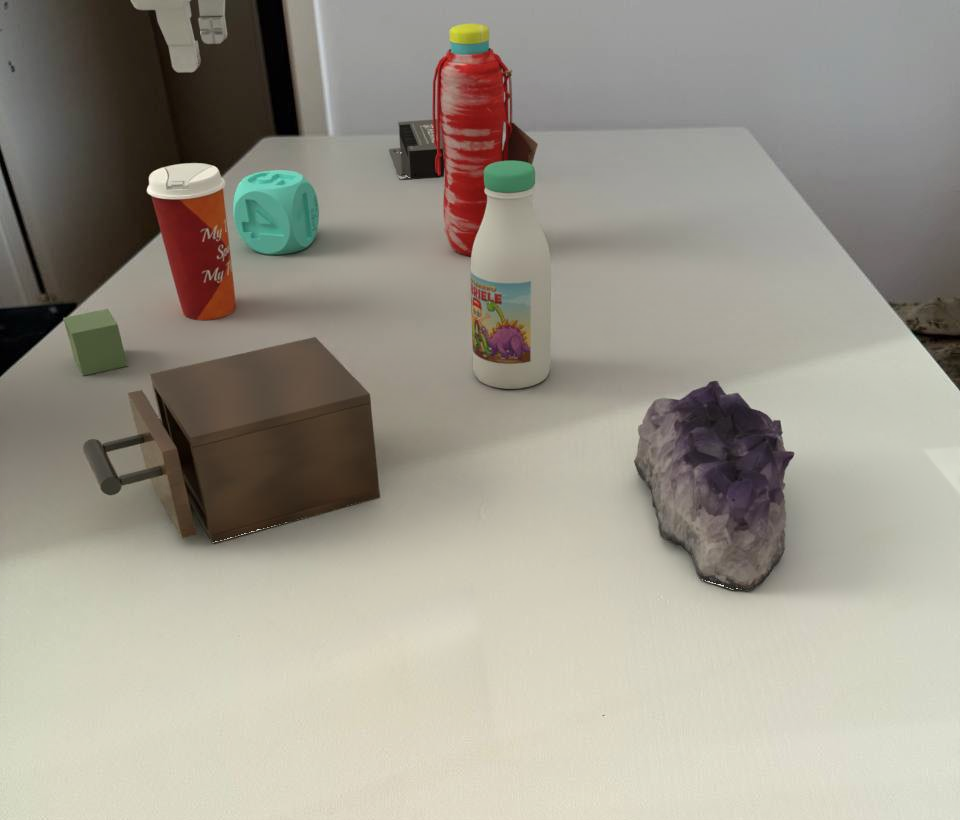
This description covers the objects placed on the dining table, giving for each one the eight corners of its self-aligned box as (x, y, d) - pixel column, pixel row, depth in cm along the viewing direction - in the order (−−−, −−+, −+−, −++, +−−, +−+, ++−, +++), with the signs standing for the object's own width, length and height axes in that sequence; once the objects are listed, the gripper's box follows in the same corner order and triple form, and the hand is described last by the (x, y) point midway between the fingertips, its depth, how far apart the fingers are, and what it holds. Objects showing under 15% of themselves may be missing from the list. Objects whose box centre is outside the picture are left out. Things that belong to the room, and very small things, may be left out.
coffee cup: (238, 323, 126) (214, 183, 116) (165, 325, 126) (135, 186, 116) (251, 294, 132) (230, 159, 123) (181, 295, 132) (154, 161, 123)
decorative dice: (295, 257, 141) (286, 191, 136) (238, 252, 143) (227, 187, 138) (322, 236, 147) (315, 172, 142) (267, 231, 149) (258, 167, 144)
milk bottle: (511, 350, 118) (508, 148, 105) (566, 372, 114) (570, 164, 101) (457, 375, 114) (448, 168, 101) (512, 398, 109) (510, 185, 97)
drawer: (121, 555, 89) (97, 468, 84) (91, 489, 97) (68, 406, 92) (340, 495, 95) (329, 410, 90) (295, 437, 103) (283, 357, 98)
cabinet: (212, 544, 91) (190, 438, 85) (172, 474, 100) (149, 373, 94) (380, 497, 96) (370, 393, 90) (327, 434, 105) (315, 336, 99)
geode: (837, 586, 84) (844, 474, 78) (683, 615, 85) (677, 506, 78) (759, 444, 100) (759, 340, 93) (629, 468, 100) (620, 367, 93)
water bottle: (531, 234, 145) (531, 14, 129) (539, 256, 139) (540, 28, 123) (437, 239, 144) (426, 19, 129) (441, 262, 138) (429, 34, 123)
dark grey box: (389, 149, 177) (379, 26, 166) (477, 142, 178) (473, 20, 167) (401, 188, 161) (391, 55, 150) (498, 180, 163) (495, 48, 152)
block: (83, 376, 116) (71, 333, 113) (74, 359, 119) (62, 317, 117) (127, 366, 118) (117, 324, 115) (117, 350, 121) (107, 308, 118)
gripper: (157, -178, 85) (191, 28, 94) (73, -156, 69) (124, 89, 78) (240, -181, 85) (267, 26, 93) (176, -160, 69) (215, 87, 77)
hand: (202, 55), depth 85 cm, fingers open, 8 cm apart
